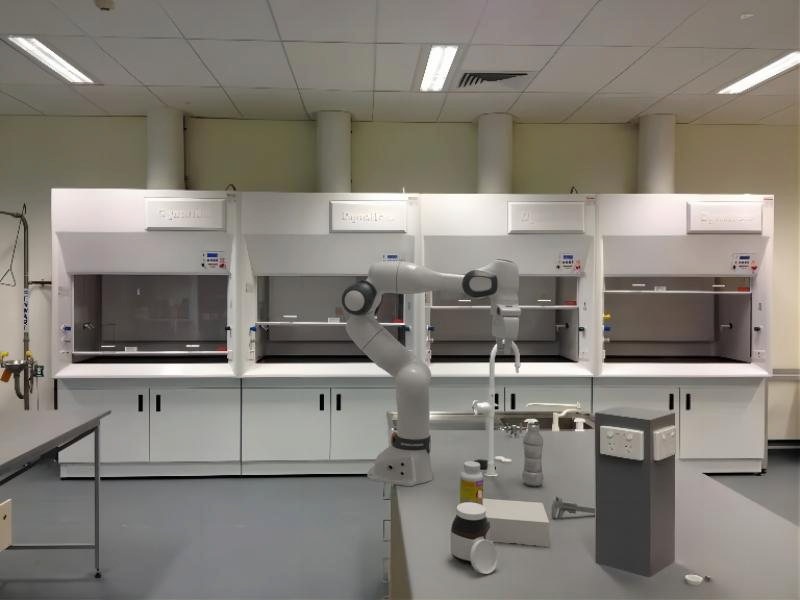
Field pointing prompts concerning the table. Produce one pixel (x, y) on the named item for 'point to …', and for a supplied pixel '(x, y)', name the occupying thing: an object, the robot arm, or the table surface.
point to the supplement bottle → (471, 482)
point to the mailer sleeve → (517, 522)
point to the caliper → (568, 508)
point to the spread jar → (473, 538)
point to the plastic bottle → (533, 456)
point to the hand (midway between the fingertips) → (503, 352)
